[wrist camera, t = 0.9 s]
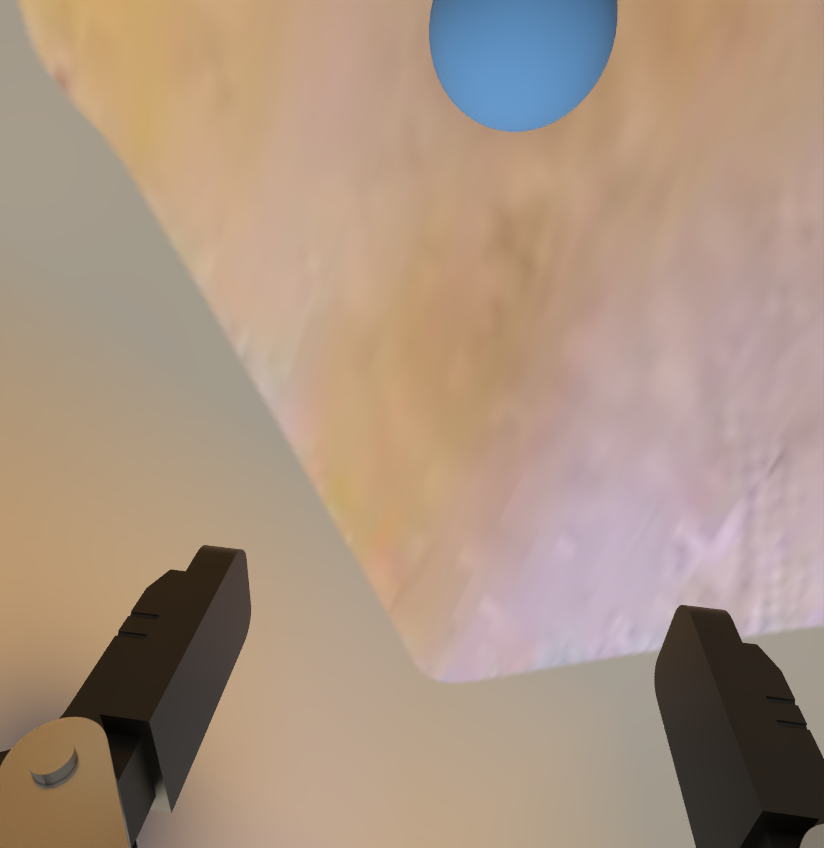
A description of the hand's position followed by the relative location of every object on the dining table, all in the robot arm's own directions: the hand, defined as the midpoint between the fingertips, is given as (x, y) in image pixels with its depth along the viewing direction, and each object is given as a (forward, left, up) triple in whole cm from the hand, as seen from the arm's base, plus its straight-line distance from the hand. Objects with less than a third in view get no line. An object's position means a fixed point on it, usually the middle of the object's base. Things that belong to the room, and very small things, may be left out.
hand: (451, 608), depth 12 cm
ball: (-10, +1, -16) cm, 19 cm away
